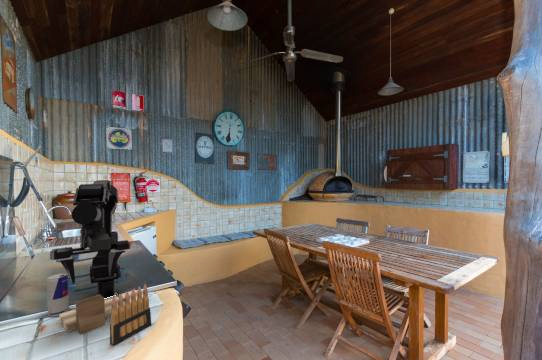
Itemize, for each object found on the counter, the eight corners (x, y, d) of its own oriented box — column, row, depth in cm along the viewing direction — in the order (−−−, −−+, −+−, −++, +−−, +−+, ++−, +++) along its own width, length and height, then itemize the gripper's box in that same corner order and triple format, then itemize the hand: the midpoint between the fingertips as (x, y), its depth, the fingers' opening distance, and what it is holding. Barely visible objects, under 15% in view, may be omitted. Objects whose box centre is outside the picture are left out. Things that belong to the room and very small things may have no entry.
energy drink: (70, 312, 84) (69, 275, 84) (49, 319, 81) (47, 280, 81) (67, 307, 88) (66, 271, 88) (46, 313, 84) (45, 276, 84)
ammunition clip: (113, 346, 66) (111, 298, 66) (109, 344, 67) (107, 297, 67) (151, 325, 75) (150, 283, 75) (147, 323, 76) (146, 282, 76)
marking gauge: (68, 319, 80) (67, 293, 80) (91, 311, 85) (90, 286, 85) (80, 334, 72) (79, 305, 72) (105, 325, 76) (104, 297, 76)
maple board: (59, 320, 79) (59, 313, 79) (135, 294, 96) (134, 289, 96) (67, 332, 73) (67, 325, 73) (147, 302, 90) (147, 296, 89)
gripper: (59, 226, 66) (58, 291, 63) (136, 221, 80) (138, 274, 77) (49, 229, 73) (48, 287, 70) (122, 223, 87) (123, 272, 85)
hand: (92, 279), depth 75 cm, fingers open, 9 cm apart
